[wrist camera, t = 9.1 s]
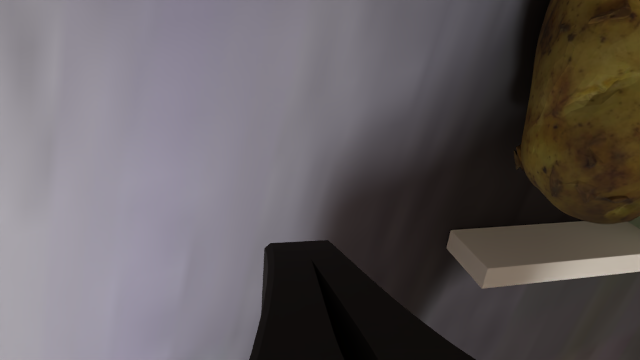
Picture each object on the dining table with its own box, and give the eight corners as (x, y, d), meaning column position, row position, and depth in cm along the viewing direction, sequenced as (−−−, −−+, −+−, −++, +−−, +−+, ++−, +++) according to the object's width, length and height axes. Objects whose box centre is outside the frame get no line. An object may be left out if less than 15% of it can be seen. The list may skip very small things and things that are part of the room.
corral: (629, 233, 27) (683, 266, 24) (446, 248, 24) (481, 288, 20) (797, -134, 19) (913, -157, 16) (552, -189, 15) (638, -231, 12)
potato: (697, -46, 19) (972, -59, 12) (528, 183, 23) (667, 273, 16) (592, -168, 16) (888, -280, 9) (414, 122, 20) (527, 202, 13)
